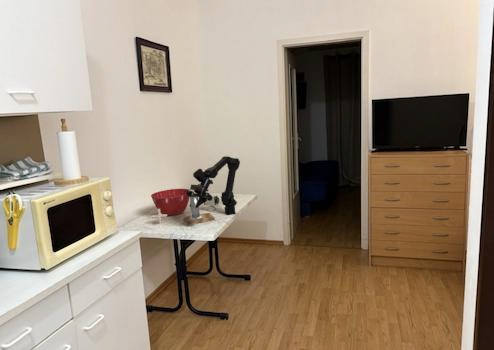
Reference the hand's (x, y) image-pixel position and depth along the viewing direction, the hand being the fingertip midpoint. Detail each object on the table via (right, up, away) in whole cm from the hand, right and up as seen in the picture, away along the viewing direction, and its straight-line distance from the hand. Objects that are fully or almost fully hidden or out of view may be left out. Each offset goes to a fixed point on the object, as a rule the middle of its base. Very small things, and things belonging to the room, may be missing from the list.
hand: (193, 207), depth 234 cm
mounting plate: (+1, -10, +19) cm, 22 cm away
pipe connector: (-24, -13, +17) cm, 32 cm away
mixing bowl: (-21, -8, +42) cm, 47 cm away
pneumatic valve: (+8, -6, +41) cm, 42 cm away
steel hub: (+1, -6, +2) cm, 7 cm away
